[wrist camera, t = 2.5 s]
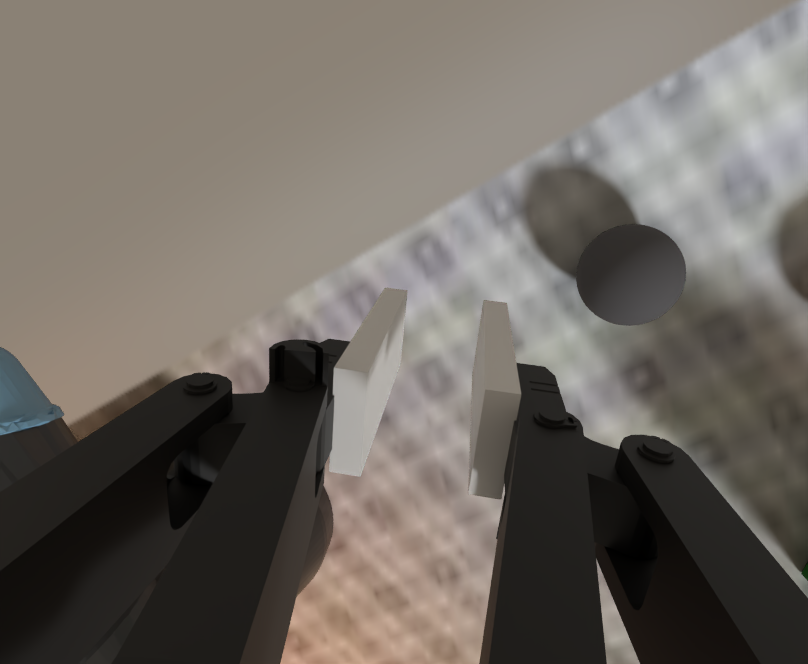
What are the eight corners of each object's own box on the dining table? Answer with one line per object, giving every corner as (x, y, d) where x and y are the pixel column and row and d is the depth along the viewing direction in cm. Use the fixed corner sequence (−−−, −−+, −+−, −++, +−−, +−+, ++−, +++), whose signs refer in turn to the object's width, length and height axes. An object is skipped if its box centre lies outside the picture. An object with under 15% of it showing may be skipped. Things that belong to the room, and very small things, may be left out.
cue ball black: (561, 301, 32) (576, 332, 27) (579, 212, 30) (599, 227, 25) (652, 313, 32) (685, 346, 27) (677, 223, 30) (718, 240, 25)
